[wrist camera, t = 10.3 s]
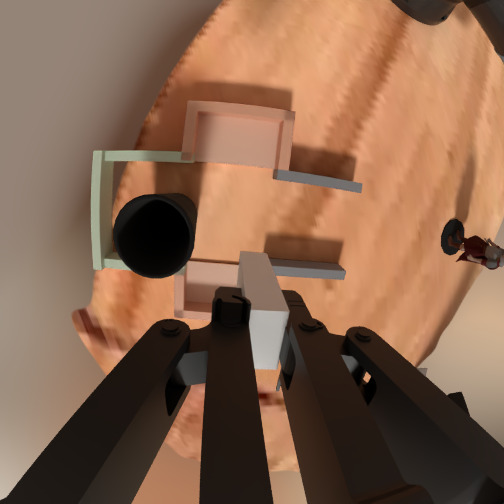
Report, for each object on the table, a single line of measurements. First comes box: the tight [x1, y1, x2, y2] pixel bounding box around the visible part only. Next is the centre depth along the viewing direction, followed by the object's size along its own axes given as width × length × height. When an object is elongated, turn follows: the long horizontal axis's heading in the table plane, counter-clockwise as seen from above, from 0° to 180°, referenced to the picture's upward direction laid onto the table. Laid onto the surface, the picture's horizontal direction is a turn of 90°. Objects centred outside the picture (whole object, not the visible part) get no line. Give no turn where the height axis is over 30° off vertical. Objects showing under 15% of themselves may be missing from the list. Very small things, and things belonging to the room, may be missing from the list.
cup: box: [113, 193, 197, 278], centre depth 29 cm, size 8×8×12 cm
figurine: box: [441, 219, 504, 270], centre depth 32 cm, size 7×7×15 cm
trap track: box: [91, 100, 362, 321], centre depth 33 cm, size 33×28×4 cm
